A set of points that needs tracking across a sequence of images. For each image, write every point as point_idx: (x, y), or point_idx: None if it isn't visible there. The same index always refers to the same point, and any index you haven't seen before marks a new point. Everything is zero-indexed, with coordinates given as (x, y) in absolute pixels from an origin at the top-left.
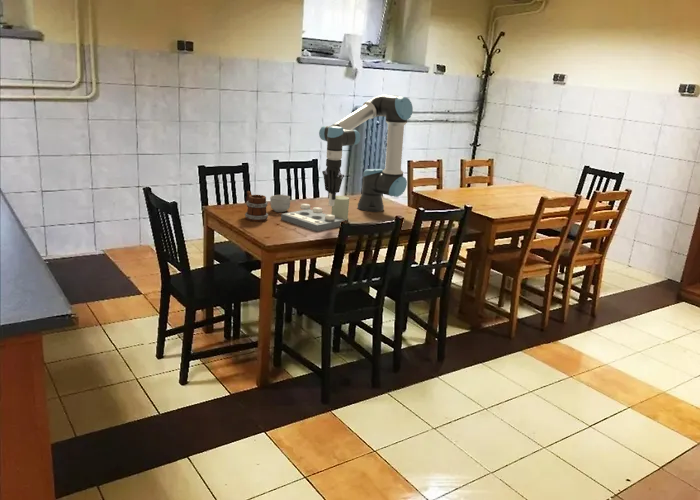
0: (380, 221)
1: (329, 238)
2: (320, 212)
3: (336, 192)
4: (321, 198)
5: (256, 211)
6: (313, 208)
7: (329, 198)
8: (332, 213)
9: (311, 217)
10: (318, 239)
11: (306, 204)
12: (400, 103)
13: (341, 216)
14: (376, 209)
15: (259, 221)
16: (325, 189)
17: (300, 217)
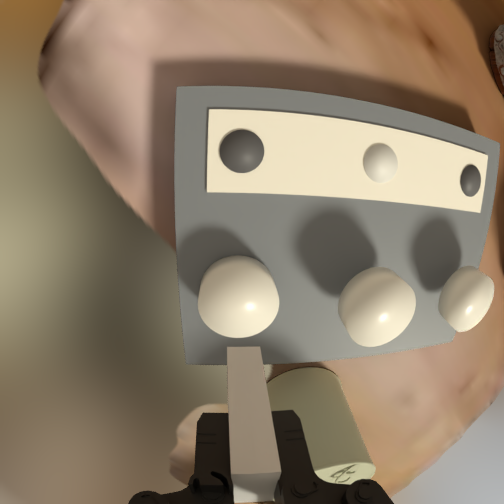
0: (170, 461)
1: (44, 71)
2: (342, 301)
3: (139, 501)
4: (454, 442)
5: None
6: (405, 288)
7: (257, 408)
8: (327, 390)
9: (364, 225)
10: (71, 8)
11: (472, 316)
12: None
13: (271, 400)
14: (269, 501)
15: (490, 39)
16: (375, 487)
17: (404, 150)
